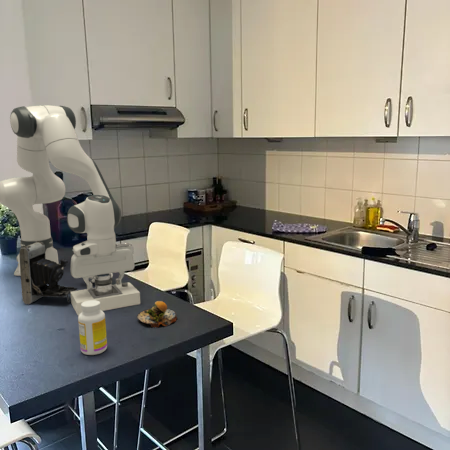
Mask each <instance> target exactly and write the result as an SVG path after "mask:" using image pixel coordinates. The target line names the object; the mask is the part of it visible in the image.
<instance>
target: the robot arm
mask: <svg viewBox="0 0 450 450" xmlns="http://www.w3.org/2000/svg"><path fill="white" fill-rule="evenodd" d="M12 109H13V110H11V112H10V117H9V122H10V126H11V127H10V128H11V130H12V132H13V133H14V135H16V136H17V141H16V142H17V143H16V144H17V145H16V162H17V164H18V166H19V167H20V169H23V170H24V171H26V172H28V173H31V174H32V175H31V176H25V177H24V176H21V177H11V178H7V179H4V180H3V179H2V180H0V204H1V205H3V206H5V207H6V208H7V209H9V210H10V211H11V212H12V213H13V214H14V215H15V217H16V219H17V221H18V225H19V229H20V236H21V237H20V249H21V248H23V246H28V245H31V244H34V243H36V242H37V241H41V242H43V244H44V245H45V257H46V259H47V260H51V261H54V262H56V263H57V264H60V263H59V262H60V261H59V255H58V250H57V249H56V248H54V246H53V245H54V241H53V237H52V235H51V225H50V223H51V222H50V219H49V217H48V216H47V215H45V214H43V213H41V212H37V211H36V210H35V209H34V205H41V204H42V205H43V204H52V203H55V202H59V201H61V200H63V198H64V197H65V195H66V184H65V182H64V181H63V179H61V178H60V177H59V176H58V175H56V174H55V173H54V172H53V170H52V169H51V166H50V163H51V165H52V166H53V167H55V168H56V169H57V170H60V171H62V172H64V173H69V174H72V175H74V176H78V177H79V178H81V179H83V180H84V181H85V182H86V183H87V184H88V186H89V188H90V190H91V193H92V194H93V195H88V196H87V197H86V199H85V200H84V201H82V202H80V203H78V204H74V205H72V206H71V207H70V208H69V209H68V210H67V214H66V223H67V226H68V228H69V229H70V230H71V231H73V232H74V233H76V234H86V235H87V236H86V238H87V240H85V241H81V242H80V243H77V244H75V245H73V247H72V252H73V254H72V255H71V259H70V275H71V277H73V278H74V279H79V278H80V279H81V278H82V277H83V278H82V280H83V281H84V282H86V283H85V284H86V289H88V290H89V289H93V288H94V287H93V282H91V283H88V281H87V280H88V276H95V275H102V274H109V273H113V274H114V273H115V274H116V273H118V274H119V275H118V277H117V278H115V285H116V284H117V285H120V284H122V279H123V278H124V276H125V272H127V271H133V270H134V269H135V259H134V253H135V250H134V249H135V248H134V245H133V244H131V243H129V242H125V243H117V239H116V233H115V229H116V228H117V227H118V226H119V224H120V222H121V220H122V210H121V208H120V206H119V205H118V203H117V202H116V200H115V199H114V197H113V195H112V193H111V192H110V189H109V187H108V185H107V183H106V180H105V178H104V176H103V175H102V172H101V170H100V168H99V167H98V165H97V163H96V162H95V160H94V159H92V158H91V157H90V156H89V155H88V154H86V152H85V150H84V149H83V147H82V146H81V143H80V141H79V140H80V139H79V138H78V135H77V132H76V127H77V119H76V115H75V113H74V111H73V110H72V109H71V108H70V107H68V106H65V105H52V104H51V105H48V104H40V105H31V106H30V105H29V106H18V107H15V108H12ZM16 262H18V263H17V267H16V269H15V271H14V273H13V275H14V276H18V277H19V276H20V277H21V274H20V256H19V253H18V254H17V256H16ZM62 269H63V270H64V267H62Z"/></svg>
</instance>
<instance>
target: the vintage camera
mask: <svg viewBox="0 0 450 450" xmlns="http://www.w3.org/2000/svg"><path fill="white" fill-rule="evenodd" d="M18 254H19V256H20V274H21V276H20V284H21V285H20V286H21V299H22V302H23V303H24V304H25V305H27V304H28V305H31V304H33V303H34V302H36V301H38V300H39V299H41V298H42V297H44V298H45V297H49V298H52V297H53V298H66V299H67V303H70V298H69V297H70V296H69V295H71V294H70V292H72V291H78V288H77V287H75V286H65V285H60V284H59V281H61V280H62V278H63V276H64V274H65V271H64V269H62V267H63V268H64V267H67V264H68V260H67V259H65V258H62V259H60V261H59V262H60V263H59V264H57V263H56V262H54V261H51V260H47V259H46V257H45V245H44V244H43V242H41V241H37V242H36V243H34V244H31V245H28V246H23V248H21V247H20V249H19V251H18Z"/></svg>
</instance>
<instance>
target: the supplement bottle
mask: <svg viewBox="0 0 450 450" xmlns="http://www.w3.org/2000/svg"><path fill="white" fill-rule="evenodd" d="M81 309H82V313H80V314H79V315H77V316H78V317H77V322H78V332H79V334H78V335H79V344H80V345H79V346H80V347H79V348H80V351H81V353H82V354H84V355H86V356H87V355H88V356H94V355H95V356H96V355H100V354H102V353H103V352H105V351H106V350H107V349H108V340H107V325H106V324H107V323H106V314H105V312H104V311H102V310H100V302H99V301H97V300H90V301H85V302H83V303H82V304H81Z"/></svg>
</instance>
